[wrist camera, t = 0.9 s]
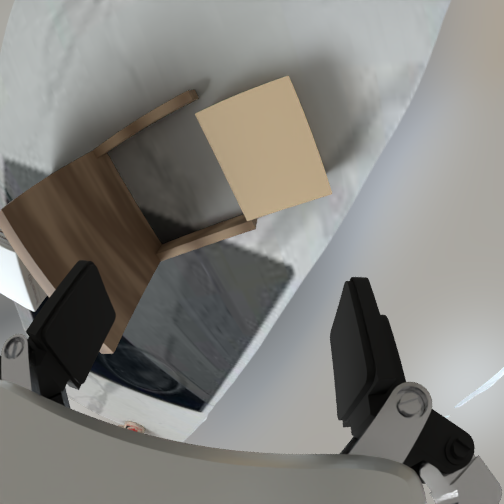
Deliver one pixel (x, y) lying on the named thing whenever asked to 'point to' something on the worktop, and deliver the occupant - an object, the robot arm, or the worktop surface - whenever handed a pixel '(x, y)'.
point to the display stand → (100, 226)
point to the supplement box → (18, 278)
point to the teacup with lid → (133, 426)
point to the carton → (265, 148)
